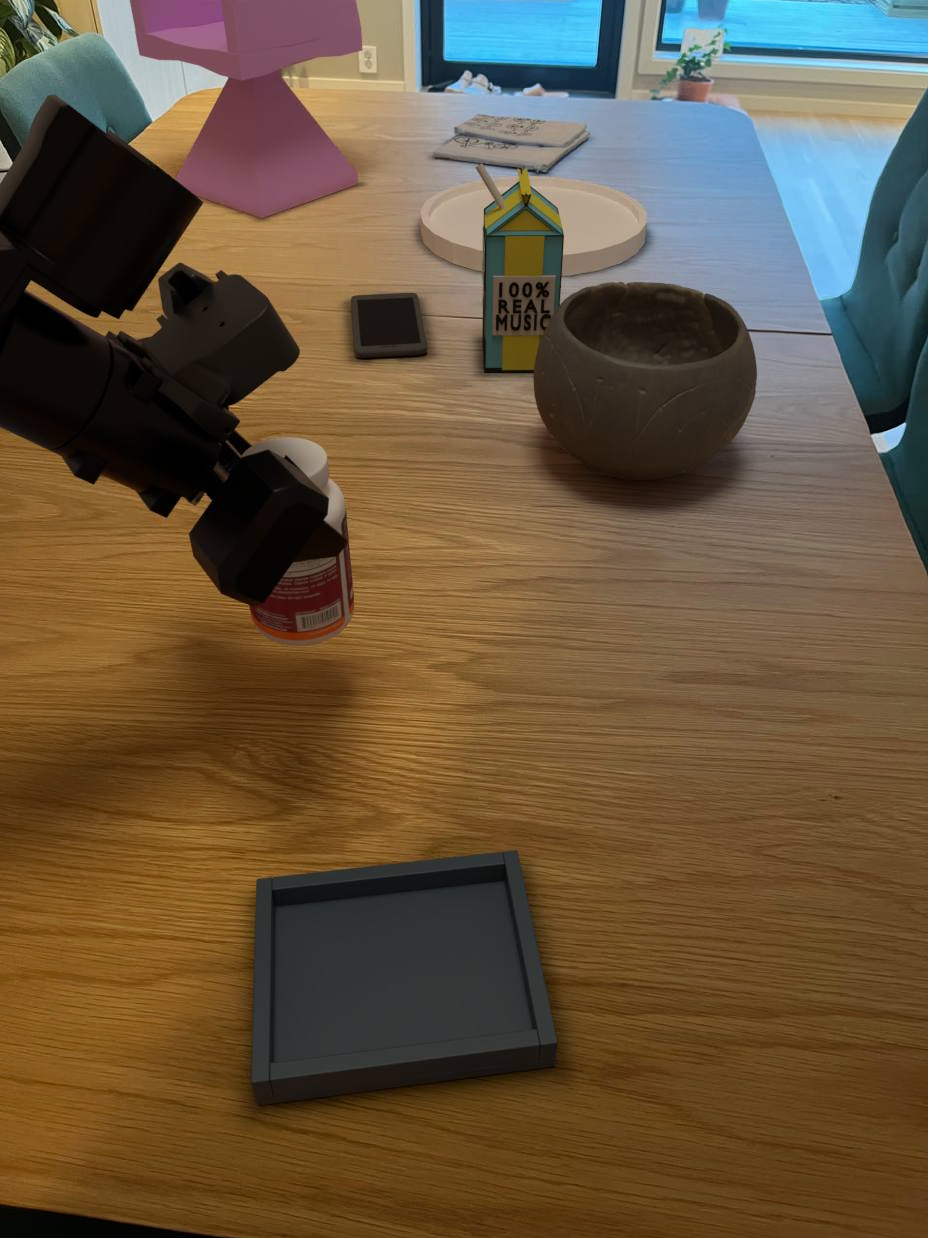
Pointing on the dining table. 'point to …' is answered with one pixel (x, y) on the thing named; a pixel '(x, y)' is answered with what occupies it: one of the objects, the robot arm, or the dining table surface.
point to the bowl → (644, 378)
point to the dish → (396, 978)
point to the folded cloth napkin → (513, 141)
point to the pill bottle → (309, 565)
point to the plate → (589, 213)
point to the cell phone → (387, 325)
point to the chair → (255, 95)
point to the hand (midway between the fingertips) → (315, 519)
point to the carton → (518, 274)
